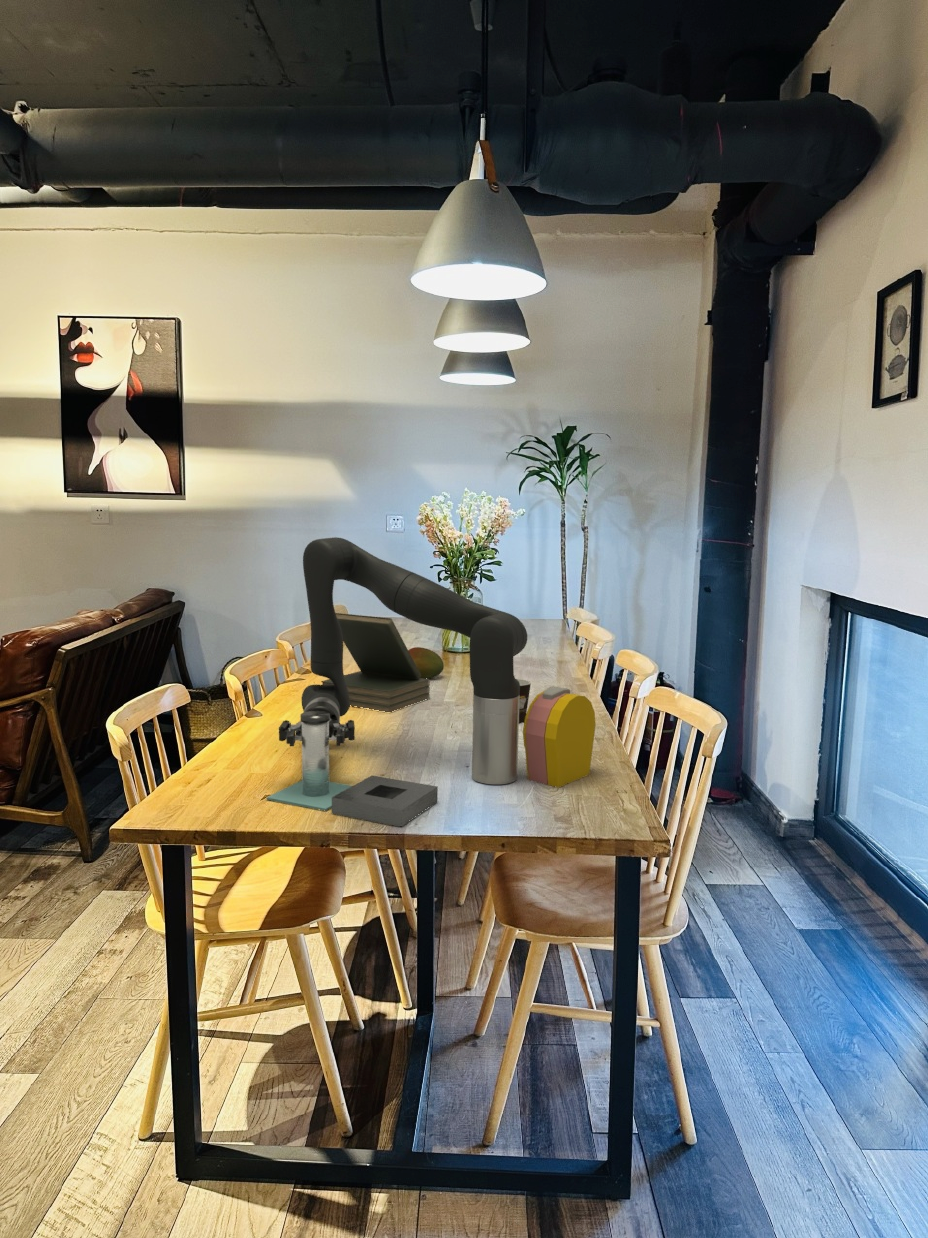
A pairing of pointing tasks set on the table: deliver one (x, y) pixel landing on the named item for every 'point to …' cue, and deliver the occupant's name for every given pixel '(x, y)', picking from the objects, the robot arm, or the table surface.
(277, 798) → the rubber mat
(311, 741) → the tumbler with black lid
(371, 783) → the collar block
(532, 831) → the table surface
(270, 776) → the table surface
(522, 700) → the coffee mug
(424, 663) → the fruit
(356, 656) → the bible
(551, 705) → the yellow and pink lunchbox
